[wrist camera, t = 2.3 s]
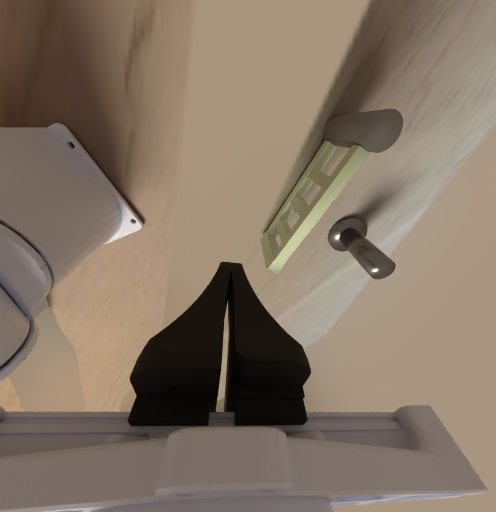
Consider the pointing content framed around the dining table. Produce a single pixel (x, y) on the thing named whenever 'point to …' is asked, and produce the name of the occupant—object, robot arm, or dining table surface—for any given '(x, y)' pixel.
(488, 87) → the dining table surface
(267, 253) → the gate
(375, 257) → the post
